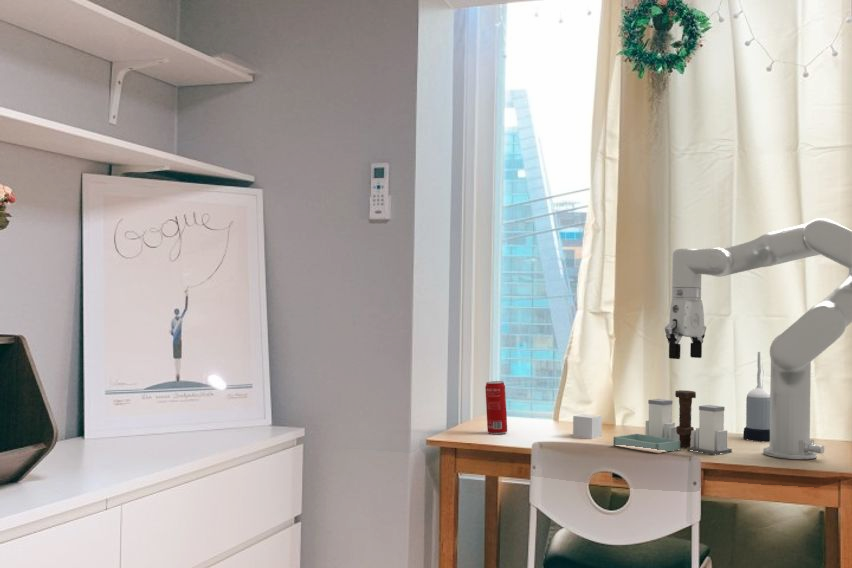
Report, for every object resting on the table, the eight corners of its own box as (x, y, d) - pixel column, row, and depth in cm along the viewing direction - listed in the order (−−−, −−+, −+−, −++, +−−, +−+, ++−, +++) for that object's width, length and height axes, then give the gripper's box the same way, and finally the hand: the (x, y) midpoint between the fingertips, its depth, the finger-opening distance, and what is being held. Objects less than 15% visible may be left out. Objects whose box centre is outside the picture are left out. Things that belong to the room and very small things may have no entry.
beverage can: (510, 434, 252) (511, 382, 252) (490, 435, 250) (491, 382, 250) (501, 431, 257) (502, 380, 258) (481, 432, 255) (482, 380, 255)
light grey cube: (601, 436, 251) (602, 415, 251) (591, 439, 246) (592, 418, 246) (583, 434, 254) (583, 413, 254) (572, 436, 250) (573, 415, 250)
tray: (680, 450, 230) (680, 440, 230) (657, 454, 223) (657, 444, 223) (636, 442, 240) (636, 433, 240) (613, 446, 234) (613, 436, 234)
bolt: (695, 449, 231) (696, 392, 231) (676, 448, 232) (676, 392, 232) (693, 445, 237) (694, 390, 237) (674, 445, 238) (674, 389, 238)
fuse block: (731, 452, 228) (732, 406, 228) (714, 455, 223) (714, 408, 223) (658, 439, 246) (658, 398, 246) (640, 442, 241) (640, 399, 241)
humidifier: (760, 436, 255) (761, 350, 256) (780, 441, 247) (781, 352, 248) (737, 437, 253) (738, 351, 253) (756, 442, 245) (757, 352, 245)
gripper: (679, 294, 227) (678, 360, 226) (717, 295, 237) (716, 358, 237) (655, 293, 232) (654, 358, 232) (693, 294, 243) (692, 356, 243)
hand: (685, 358), depth 235 cm, fingers open, 9 cm apart
